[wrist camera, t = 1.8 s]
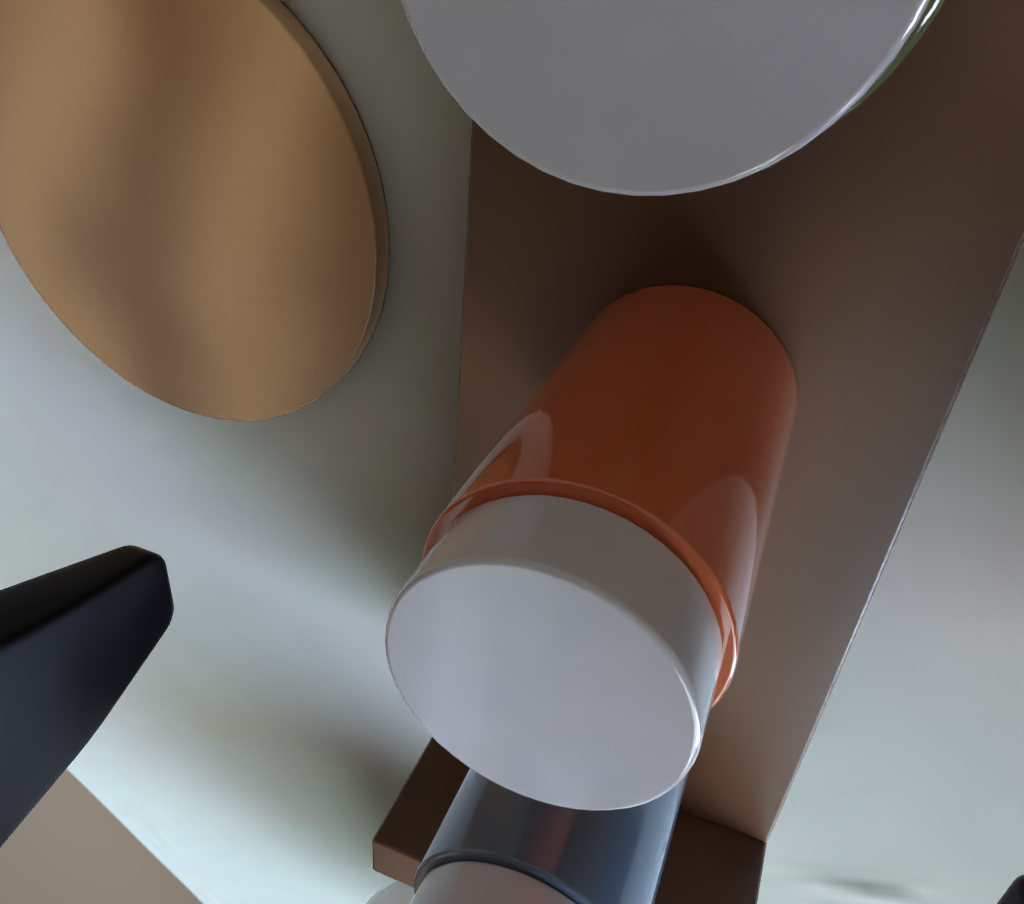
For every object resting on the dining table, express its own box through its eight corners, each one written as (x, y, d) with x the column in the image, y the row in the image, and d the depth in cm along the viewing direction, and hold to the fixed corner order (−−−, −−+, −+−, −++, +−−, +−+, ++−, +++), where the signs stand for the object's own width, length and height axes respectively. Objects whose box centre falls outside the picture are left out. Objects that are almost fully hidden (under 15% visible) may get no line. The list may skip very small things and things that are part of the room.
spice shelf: (1315, -593, 9) (1802, -1192, 4) (771, 771, 22) (728, 1029, 17) (595, -563, 11) (328, -936, 6) (486, 667, 24) (371, 870, 19)
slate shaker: (726, 643, 17) (632, 1004, 11) (688, 765, 19) (594, 1118, 14) (542, 583, 18) (375, 888, 12) (526, 705, 20) (377, 1011, 15)
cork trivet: (389, -44, 16) (373, -42, 15) (390, 458, 22) (378, 471, 21) (-71, -105, 18) (-97, -105, 18) (45, 354, 25) (28, 363, 24)
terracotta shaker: (826, 314, 13) (758, 623, 7) (765, 514, 15) (677, 869, 10) (585, 261, 14) (367, 499, 8) (559, 455, 16) (372, 746, 11)
